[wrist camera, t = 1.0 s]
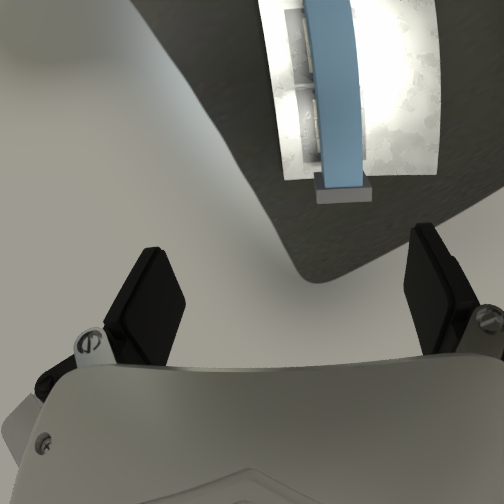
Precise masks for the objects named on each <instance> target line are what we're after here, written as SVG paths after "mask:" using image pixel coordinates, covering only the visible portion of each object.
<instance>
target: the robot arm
mask: <svg viewBox="0 0 504 504" xmlns="http://www.w3.org/2000/svg"><path fill="white" fill-rule="evenodd" d="M404 293H405V296H406V299H407V302H408V305H409V308H410V311H411V315H412V318H413V321H414V325H415V328H416V332H417V335H418V338H419V342H420V346H421V349H422V353H423V356H416V357H407V358H399V359H389V360H381V361H371V362H361V363H350V364H338V365H325V366H324V365H323V366H306V367H284V368H283V367H282V368H193V367H170V366H166V363H167V360H168V357H169V354H170V351H171V348H172V345H173V342H174V339H175V336H176V333H177V330H178V327H179V324H180V321H181V318H182V315H183V312H184V310H185V305H186V302H185V298H184V296H183V293H182V291H181V289H180V286H179V284H178V281H177V279H176V277H175V274H174V272H173V270H172V267H171V265H170V262H169V260H168V258H167V255H166V253H165V251H164V250H161V248H160V247H151V248H145V249H144V250H143V252H142V253H141V255H140V257H139V258H138V260H137V262H136V263H135V265H134V267H133V268H132V270H131V272H130V274H129V275H128V277H127V279H126V281H125V283H124V284H123V286H122V288H121V290H120V291H119V293H118V295H117V297H116V299H115V300H114V302H113V304H112V306H111V308H110V310H109V311H108V313H107V315H106V317H105V319H104V321H103V322H104V324H105V325H104V327H103V329H101V328H99V327H93V328H89V329H87V330H85V331H84V332H82V333H81V334H80V335H79V336H78V337H77V339H76V341H75V343H74V354H73V355H72V356H70V357H69V358H67V359H65V360H64V361H62V362H60V363H59V364H57V365H56V366H54V367H53V368H51V369H49V370H48V371H46V372H45V373H43V374H42V375H41V376H40V377H39V378H38V380H37V382H36V384H35V388H34V389H35V394H34V395H33V394H32V393H30V394H29V395H28V396H27V397H26V398H25V399H24V400H23V401H22V402H21V404H20V405H19V406H18V407H17V408H16V409H15V410H14V411H13V412H12V413H11V414H10V415H9V416H8V417H7V418H6V420H5V421H4V422H3V425H2V430H1V432H2V436H3V438H4V440H5V442H6V444H7V446H8V448H9V450H10V452H11V454H12V456H13V458H14V459H15V461H16V463H17V465H18V467H19V470H18V474H17V477H16V481H15V484H14V488H13V492H12V497H11V500H10V504H504V311H503V310H502V309H500V308H499V307H496V306H494V305H491V304H484V305H480V303H479V301H478V299H477V297H476V295H475V293H474V291H473V289H472V287H471V285H470V283H469V281H468V280H467V278H466V276H465V274H464V272H463V270H462V268H461V267H460V265H459V263H458V261H457V260H456V258H455V257H454V256H451V255H450V253H449V251H448V249H447V248H446V246H445V244H444V243H443V241H442V239H441V237H440V236H439V234H438V233H437V231H436V229H435V228H434V226H433V224H432V223H430V222H429V223H417V224H416V225H415V228H411V232H410V241H409V249H408V257H407V265H406V271H405V278H404Z"/></svg>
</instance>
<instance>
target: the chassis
mask: <svg viewBox="0 0 504 504" xmlns="http://www.w3.org/2000/svg"><path fill="white" fill-rule="evenodd" d="M258 2H259V8H260V13H261V19H262V25H263V31H264V37H265V43H266V49H267V56H268V62H269V68H270V75H271V82H272V89H273V96H274V103H275V110H276V117H277V124H278V132H279V140H280V148H281V156H282V164H283V172H284V180H295V179H310V178H314V172H322V168H321V153H320V140H319V127H318V116H317V106H316V96H315V86H314V77H313V69H312V61H311V53H310V46H309V38H308V32H307V25H306V18H305V12H304V6H303V0H258ZM350 3H351V9H352V16H353V23H354V31H355V40H356V48H357V58H358V69H359V82H360V96H361V115H362V144H363V171H364V173H365V175H366V176H373V175H436V173H437V163H438V150H439V135H440V108H441V80H440V54H439V39H438V28H437V18H436V10H435V3H434V0H350Z"/></svg>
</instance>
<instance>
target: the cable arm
mask: <svg viewBox="0 0 504 504" xmlns="http://www.w3.org/2000/svg"><path fill="white" fill-rule="evenodd" d="M303 6H304V12H305V18H306V25H307V32H308V38H309V46H310V53H311V61H312V69H313V77H314V86H315V96H316V106H317V116H318V127H319V140H320V153H321V168H322V172H314V186H315V192H316V199H317V204H326V203H344V202H366V201H372V187H371V184H370V182H369V180H368V178H367V177H366V175H365V173H364V171H363V144H362V115H361V96H360V82H359V69H358V58H357V48H356V40H355V31H354V23H353V16H352V9H351V3H350V0H303Z"/></svg>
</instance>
